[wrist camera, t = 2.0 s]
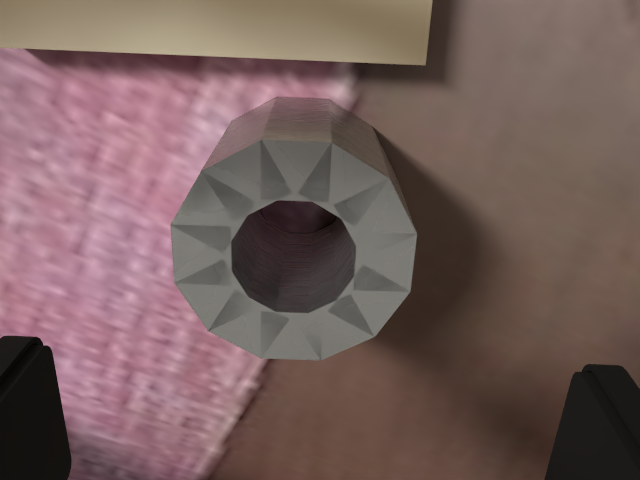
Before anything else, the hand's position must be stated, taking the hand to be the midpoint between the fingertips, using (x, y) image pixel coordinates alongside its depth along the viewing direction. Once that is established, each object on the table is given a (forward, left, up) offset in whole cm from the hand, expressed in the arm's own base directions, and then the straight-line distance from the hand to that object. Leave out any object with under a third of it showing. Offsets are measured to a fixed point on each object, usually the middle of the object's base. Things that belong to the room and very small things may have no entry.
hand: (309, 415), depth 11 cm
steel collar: (0, +1, -13) cm, 13 cm away
